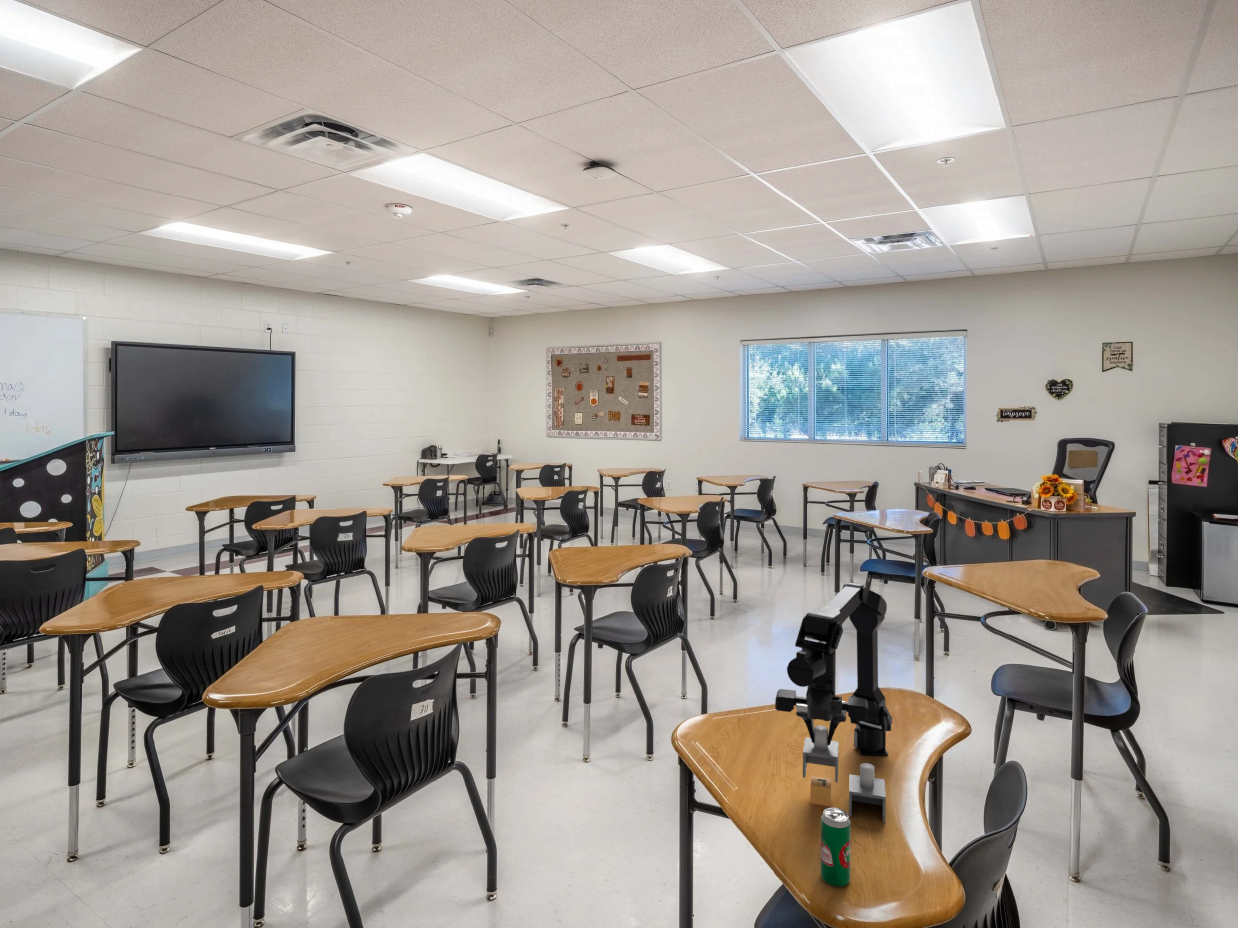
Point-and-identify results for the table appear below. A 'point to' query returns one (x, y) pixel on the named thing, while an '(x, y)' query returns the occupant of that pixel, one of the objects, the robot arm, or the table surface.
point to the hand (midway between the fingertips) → (821, 743)
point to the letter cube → (820, 791)
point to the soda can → (835, 847)
